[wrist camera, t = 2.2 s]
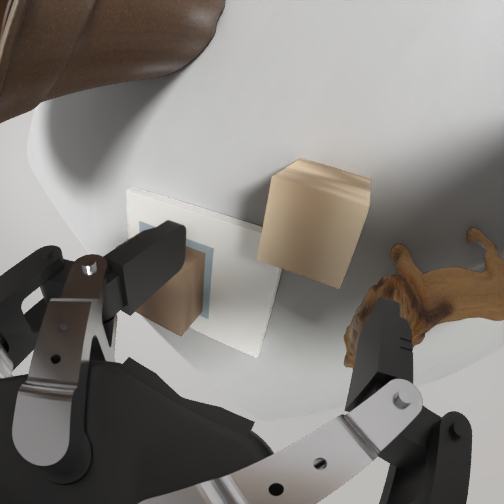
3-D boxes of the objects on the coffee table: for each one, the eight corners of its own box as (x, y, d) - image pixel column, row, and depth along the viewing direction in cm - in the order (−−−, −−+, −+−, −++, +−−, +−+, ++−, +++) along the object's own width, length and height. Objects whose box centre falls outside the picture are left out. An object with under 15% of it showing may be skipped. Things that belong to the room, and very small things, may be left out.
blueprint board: (290, 236, 22) (285, 242, 21) (260, 351, 29) (256, 358, 28) (132, 186, 26) (124, 190, 25) (141, 295, 33) (135, 300, 32)
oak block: (371, 179, 17) (369, 207, 13) (350, 243, 20) (339, 289, 15) (300, 158, 19) (271, 176, 14) (287, 222, 21) (256, 259, 17)
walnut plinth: (206, 252, 24) (179, 276, 21) (202, 311, 28) (181, 336, 25) (145, 229, 26) (116, 247, 23) (149, 285, 30) (125, 305, 27)
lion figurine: (366, 311, 22) (351, 400, 15) (345, 257, 21) (321, 340, 13) (525, 262, 14) (570, 338, 7) (518, 198, 13) (583, 257, 6)
